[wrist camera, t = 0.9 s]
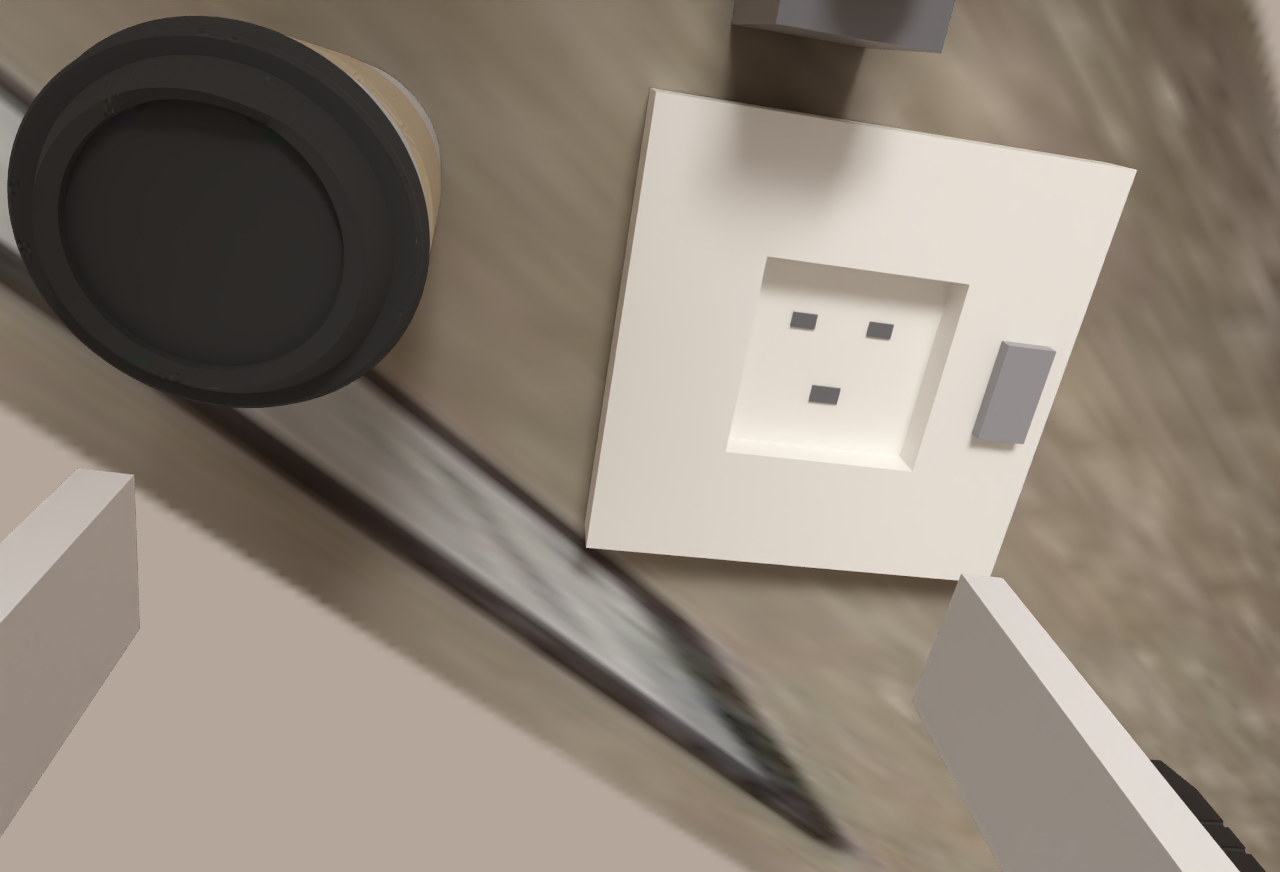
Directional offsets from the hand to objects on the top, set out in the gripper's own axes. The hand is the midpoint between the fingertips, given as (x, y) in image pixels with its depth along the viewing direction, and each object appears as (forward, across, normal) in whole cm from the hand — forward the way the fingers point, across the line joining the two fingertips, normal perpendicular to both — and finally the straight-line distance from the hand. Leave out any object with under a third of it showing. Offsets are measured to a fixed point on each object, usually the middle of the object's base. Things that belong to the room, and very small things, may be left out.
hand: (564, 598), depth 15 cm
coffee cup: (+23, -8, +2) cm, 24 cm away
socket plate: (+22, +12, -2) cm, 25 cm away
